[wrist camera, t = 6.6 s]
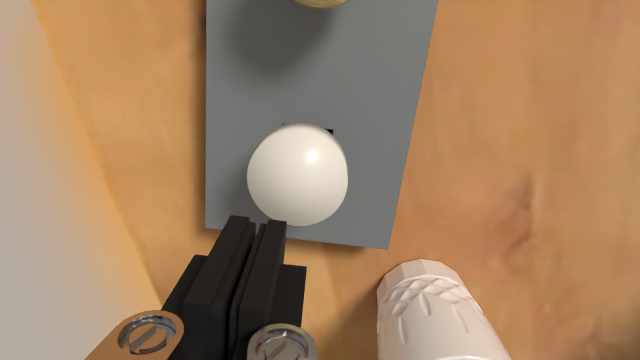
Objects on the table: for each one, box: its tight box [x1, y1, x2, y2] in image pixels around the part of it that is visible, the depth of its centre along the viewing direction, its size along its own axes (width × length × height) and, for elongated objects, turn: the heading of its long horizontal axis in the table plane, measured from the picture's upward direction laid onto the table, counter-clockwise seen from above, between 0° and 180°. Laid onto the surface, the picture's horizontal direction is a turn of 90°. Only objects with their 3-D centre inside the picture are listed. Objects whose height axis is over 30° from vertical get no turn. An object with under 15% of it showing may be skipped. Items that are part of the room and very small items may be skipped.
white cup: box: [377, 259, 512, 360], centre depth 25 cm, size 8×8×10 cm
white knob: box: [247, 122, 348, 226], centre depth 20 cm, size 5×5×5 cm
